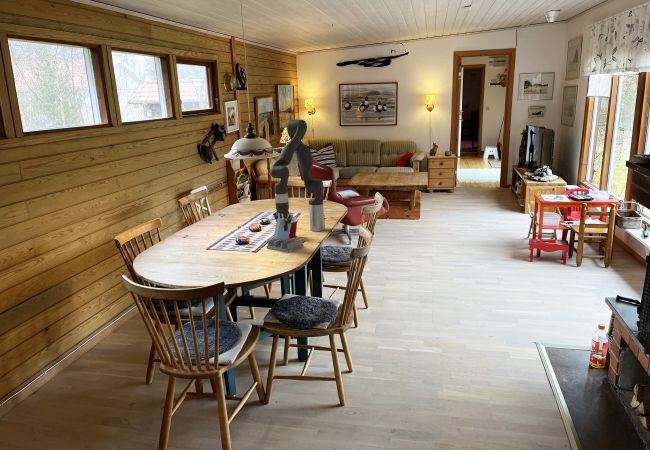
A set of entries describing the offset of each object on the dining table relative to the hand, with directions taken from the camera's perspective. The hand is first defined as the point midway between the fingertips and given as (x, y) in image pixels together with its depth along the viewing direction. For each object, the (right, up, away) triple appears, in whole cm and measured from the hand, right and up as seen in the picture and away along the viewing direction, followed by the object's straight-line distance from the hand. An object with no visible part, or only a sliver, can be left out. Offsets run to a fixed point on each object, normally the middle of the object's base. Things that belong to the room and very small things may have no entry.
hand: (284, 230), depth 272 cm
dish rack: (0, -10, +3) cm, 10 cm away
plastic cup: (+2, -5, +22) cm, 22 cm away
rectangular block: (-2, -6, -2) cm, 6 cm away
